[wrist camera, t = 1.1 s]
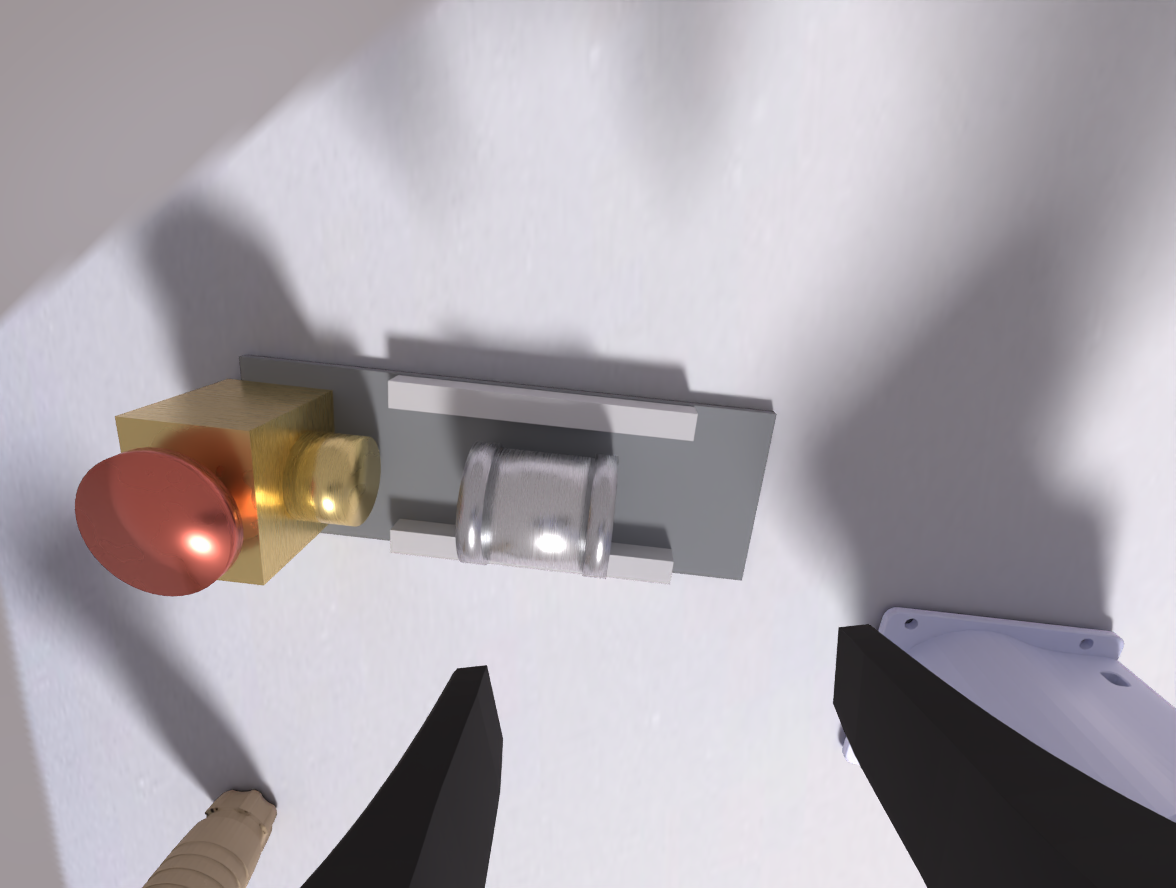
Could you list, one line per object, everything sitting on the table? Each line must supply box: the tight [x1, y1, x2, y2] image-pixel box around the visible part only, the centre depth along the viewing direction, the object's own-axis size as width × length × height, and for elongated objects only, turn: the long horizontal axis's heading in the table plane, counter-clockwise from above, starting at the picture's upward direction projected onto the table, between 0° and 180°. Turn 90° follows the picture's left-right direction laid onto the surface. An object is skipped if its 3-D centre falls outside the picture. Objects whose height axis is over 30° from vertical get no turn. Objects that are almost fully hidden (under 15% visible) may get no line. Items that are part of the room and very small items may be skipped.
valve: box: [75, 379, 381, 596], centre depth 20 cm, size 7×5×7 cm
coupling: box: [455, 441, 619, 579], centre depth 21 cm, size 5×4×4 cm
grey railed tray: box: [239, 355, 776, 584], centre depth 22 cm, size 20×7×1 cm, turn 84°
